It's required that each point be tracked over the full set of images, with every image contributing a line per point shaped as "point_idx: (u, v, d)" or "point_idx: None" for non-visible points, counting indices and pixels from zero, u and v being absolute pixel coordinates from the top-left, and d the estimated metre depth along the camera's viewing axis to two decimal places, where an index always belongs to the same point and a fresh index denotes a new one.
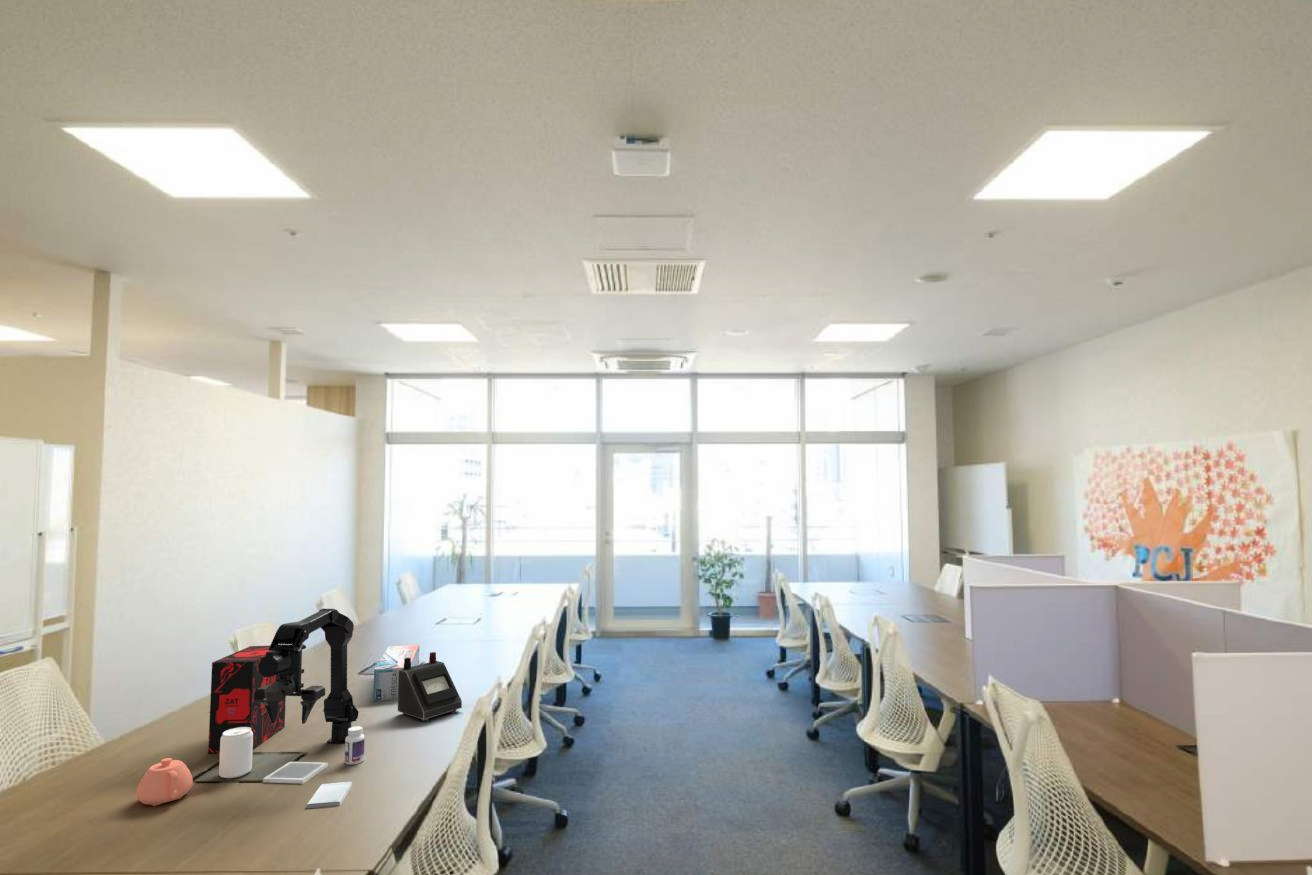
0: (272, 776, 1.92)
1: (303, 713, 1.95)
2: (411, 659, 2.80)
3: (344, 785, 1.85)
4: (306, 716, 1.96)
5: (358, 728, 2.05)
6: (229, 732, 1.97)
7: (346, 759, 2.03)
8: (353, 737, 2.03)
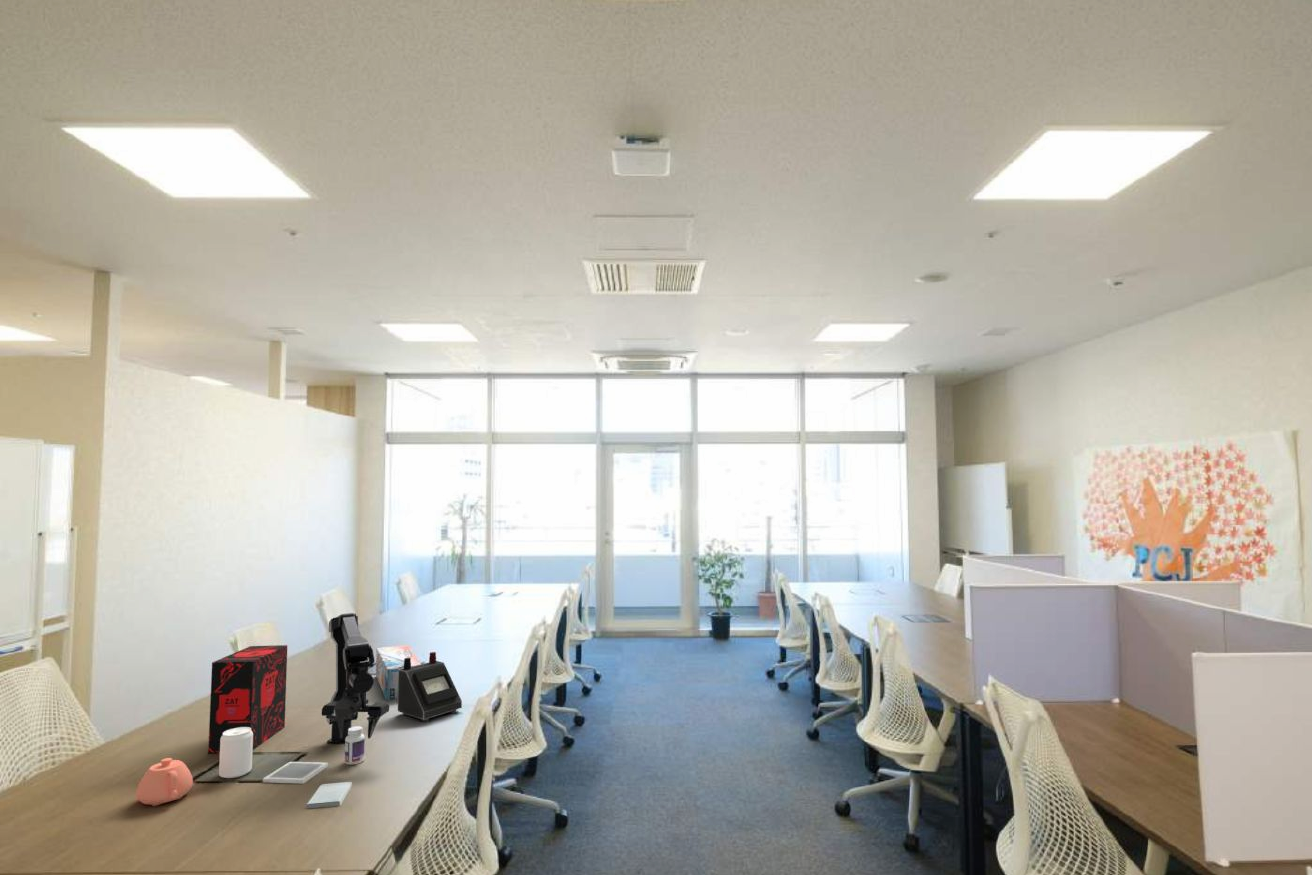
0: (272, 776, 1.92)
1: (369, 728, 2.04)
2: (416, 658, 2.82)
3: (344, 785, 1.85)
4: (372, 731, 2.05)
5: (358, 728, 2.05)
6: (229, 732, 1.97)
7: (346, 759, 2.03)
8: (353, 737, 2.03)
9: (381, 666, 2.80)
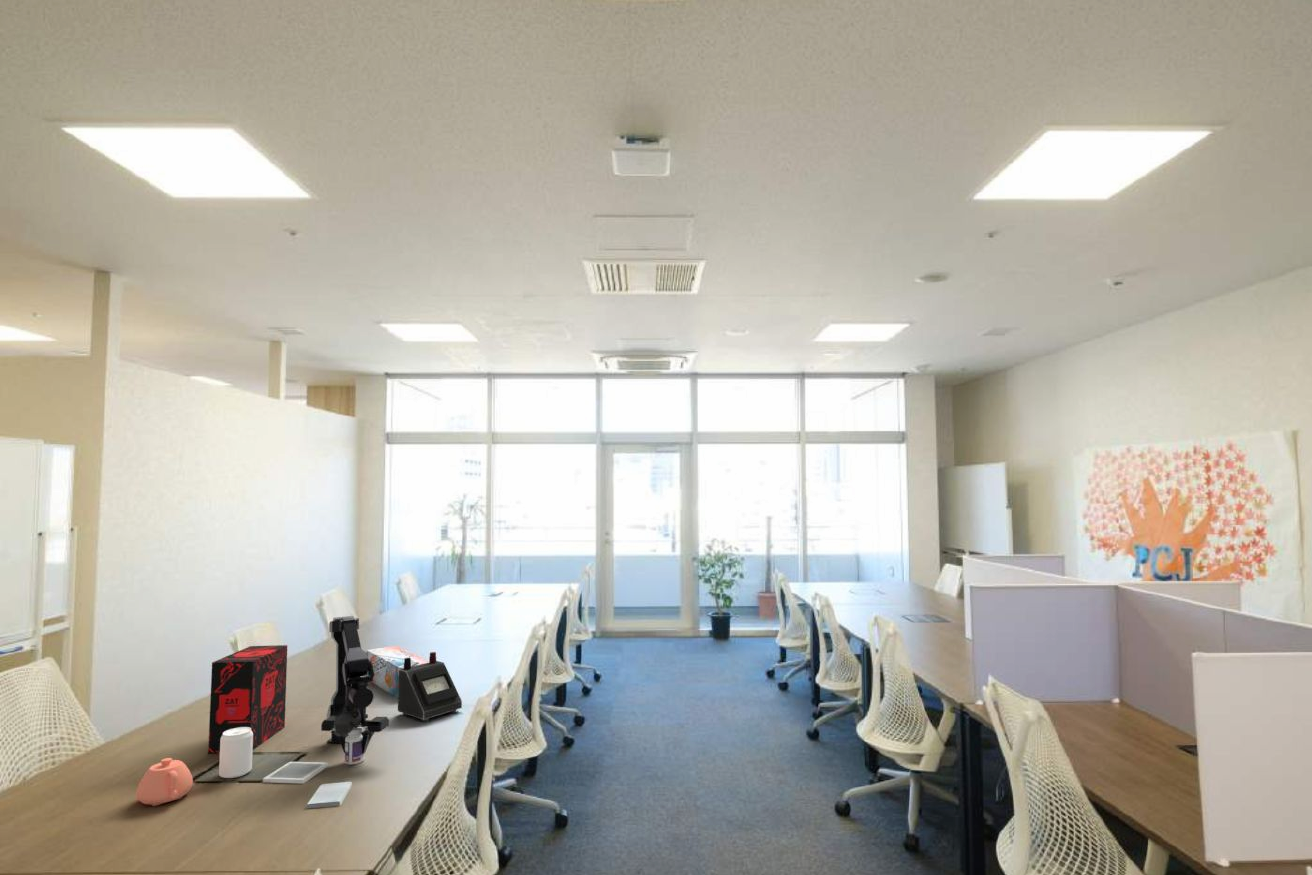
0: (272, 776, 1.92)
1: (363, 743, 2.04)
2: None
3: (344, 785, 1.85)
4: (366, 746, 2.05)
5: (358, 728, 2.05)
6: (229, 732, 1.97)
7: (346, 759, 2.03)
8: (353, 737, 2.03)
9: (384, 667, 2.79)
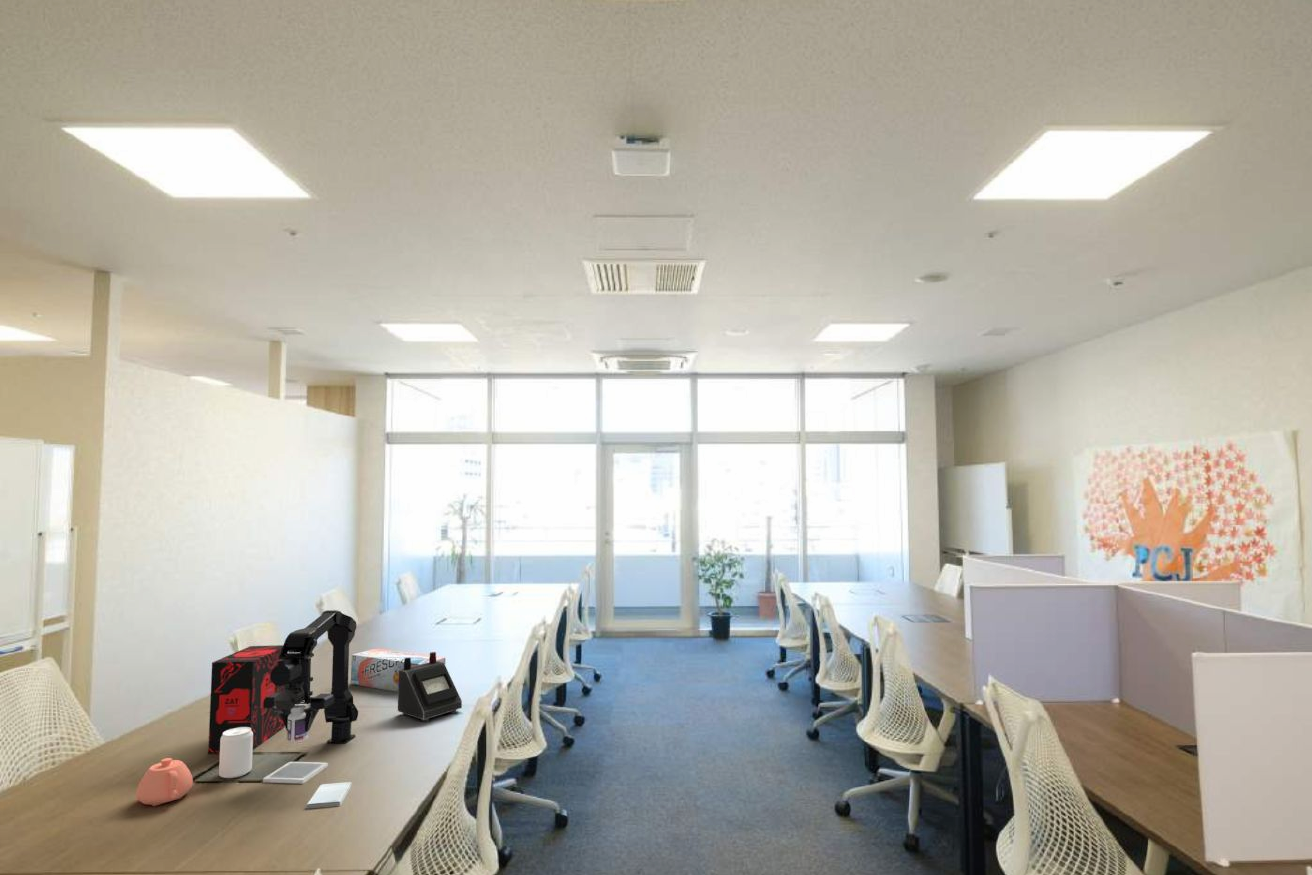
0: (272, 776, 1.92)
1: (307, 721, 1.96)
2: (422, 654, 2.88)
3: (343, 786, 1.85)
4: (310, 724, 1.97)
5: (301, 705, 1.97)
6: (229, 732, 1.97)
7: (288, 737, 1.94)
8: (296, 714, 1.95)
9: (390, 667, 2.79)
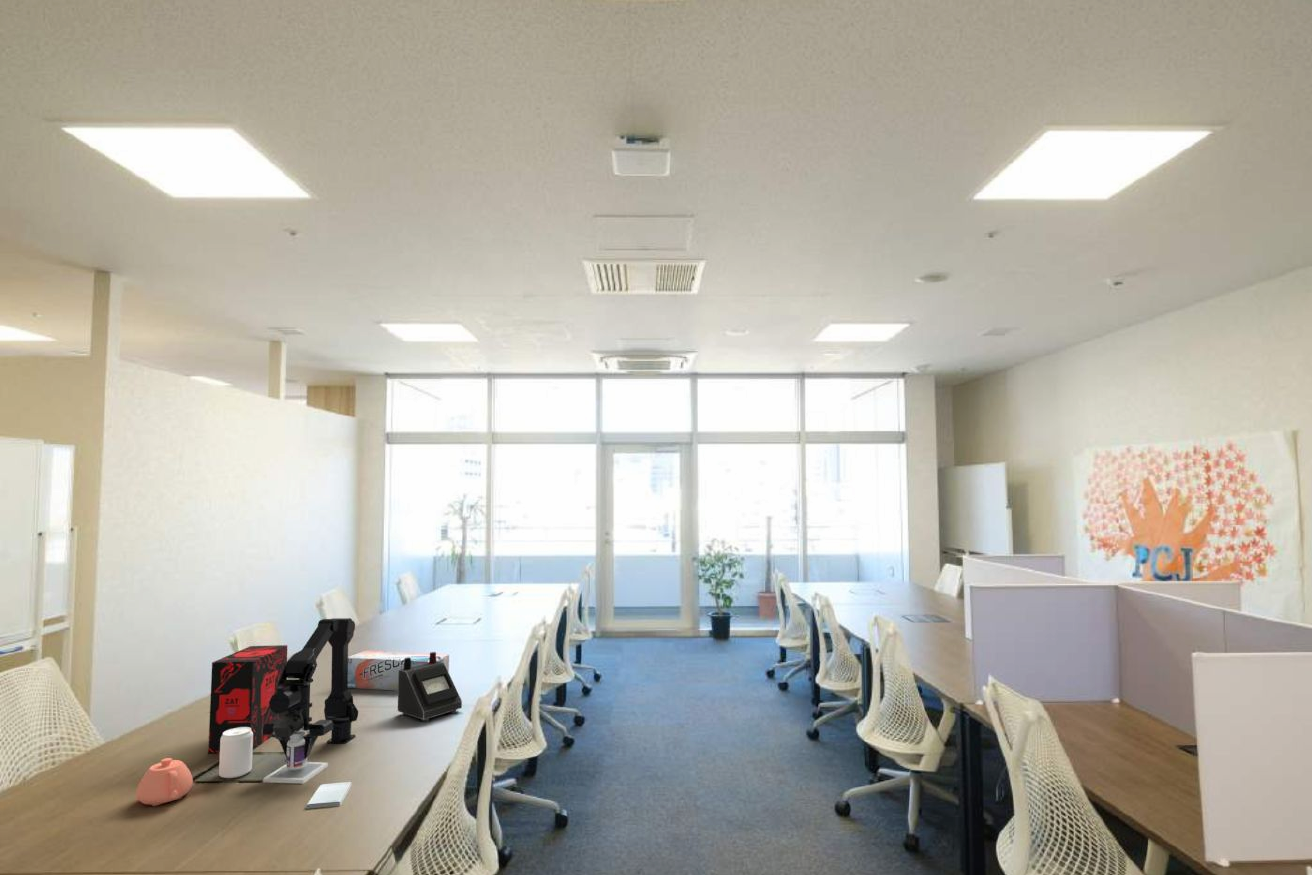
0: (272, 776, 1.92)
1: (306, 747, 1.95)
2: (422, 653, 2.91)
3: (343, 786, 1.85)
4: (309, 750, 1.96)
5: (301, 732, 1.97)
6: (229, 732, 1.97)
7: (287, 764, 1.94)
8: (295, 741, 1.95)
9: (395, 667, 2.79)
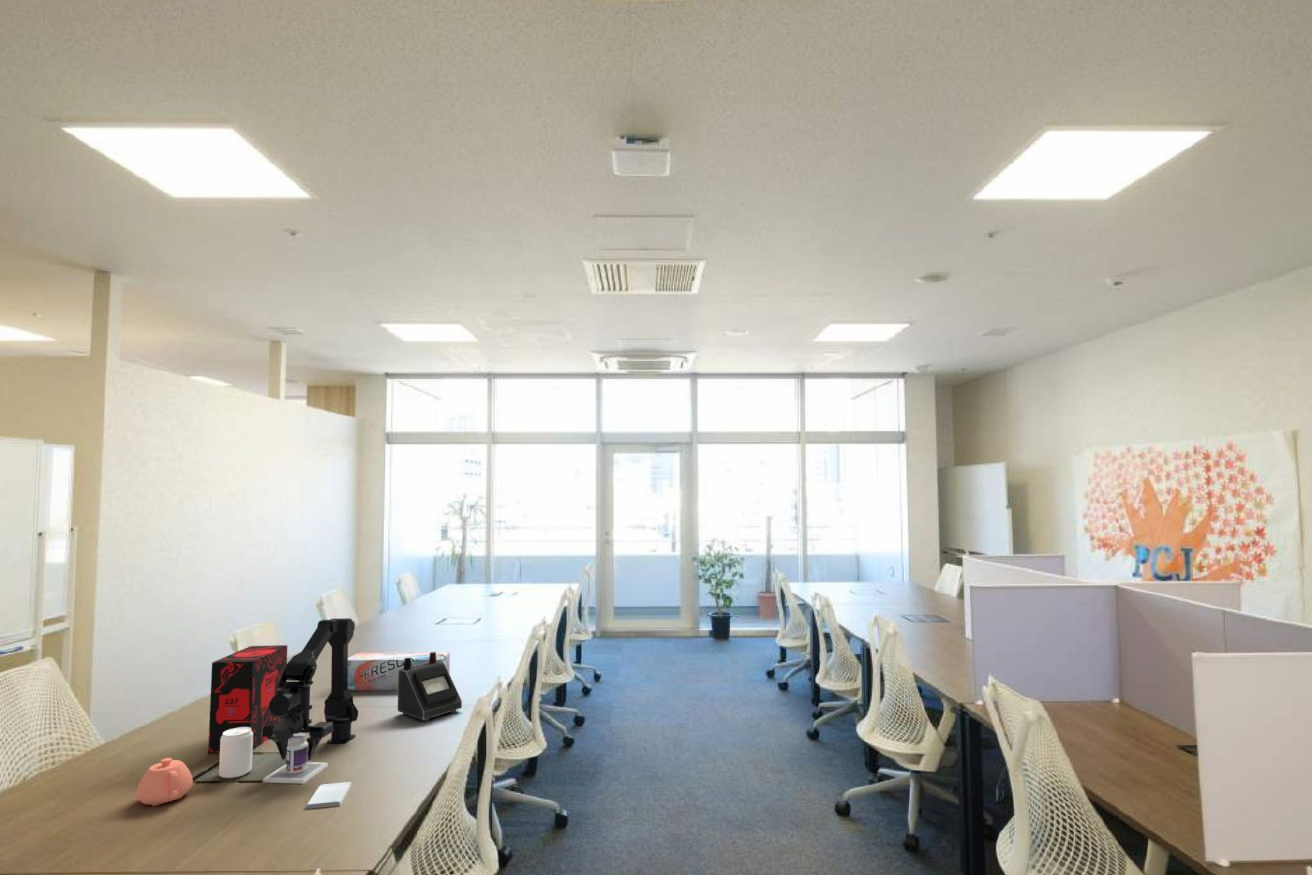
0: (272, 776, 1.92)
1: (309, 750, 1.95)
2: (420, 652, 2.92)
3: (343, 786, 1.85)
4: (313, 753, 1.96)
5: (301, 735, 1.97)
6: (229, 732, 1.97)
7: (287, 768, 1.94)
8: (295, 745, 1.95)
9: (399, 666, 2.79)
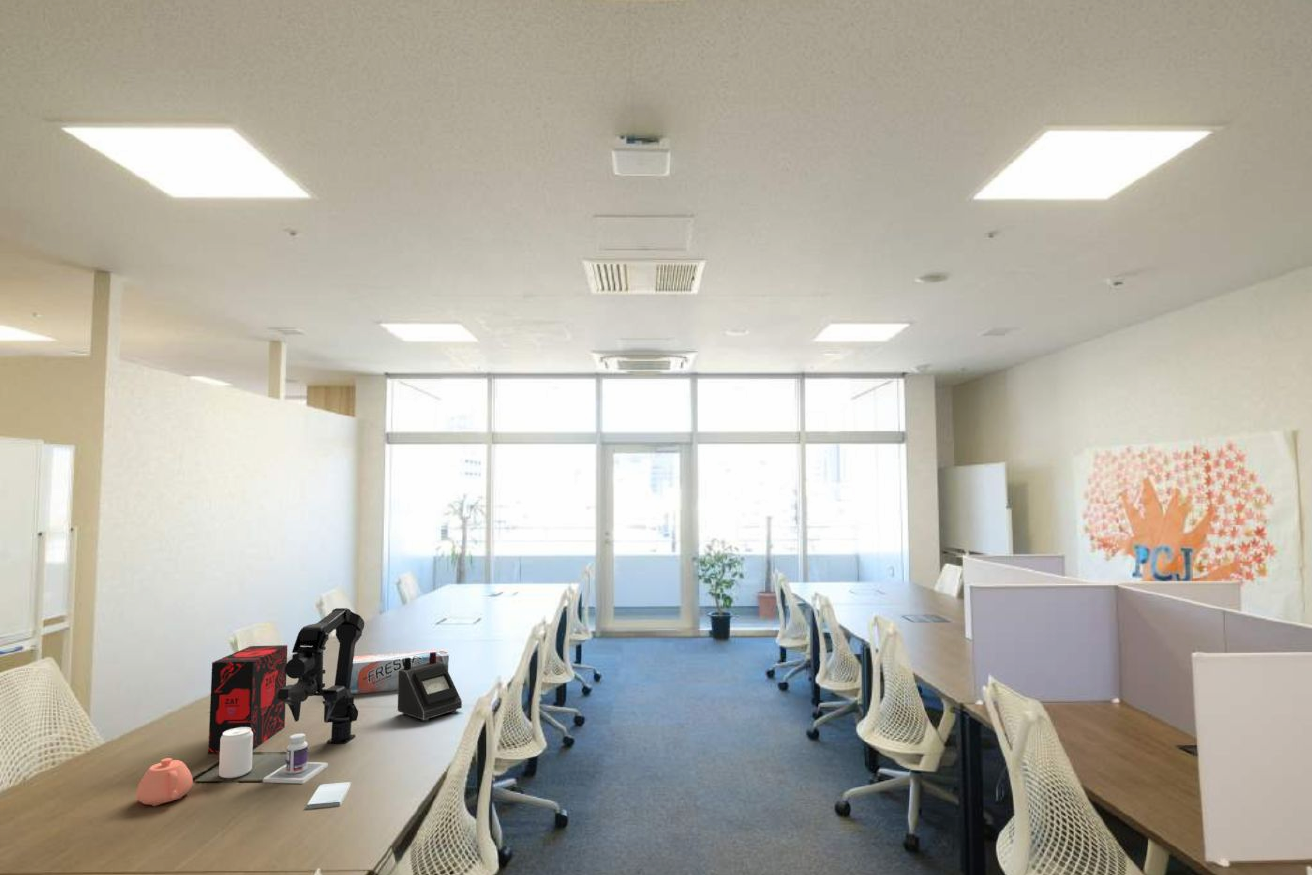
0: (272, 776, 1.92)
1: (325, 712, 2.02)
2: (416, 651, 2.95)
3: (343, 786, 1.85)
4: (328, 715, 2.03)
5: (301, 735, 1.97)
6: (229, 732, 1.97)
7: (287, 768, 1.94)
8: (295, 745, 1.95)
9: None
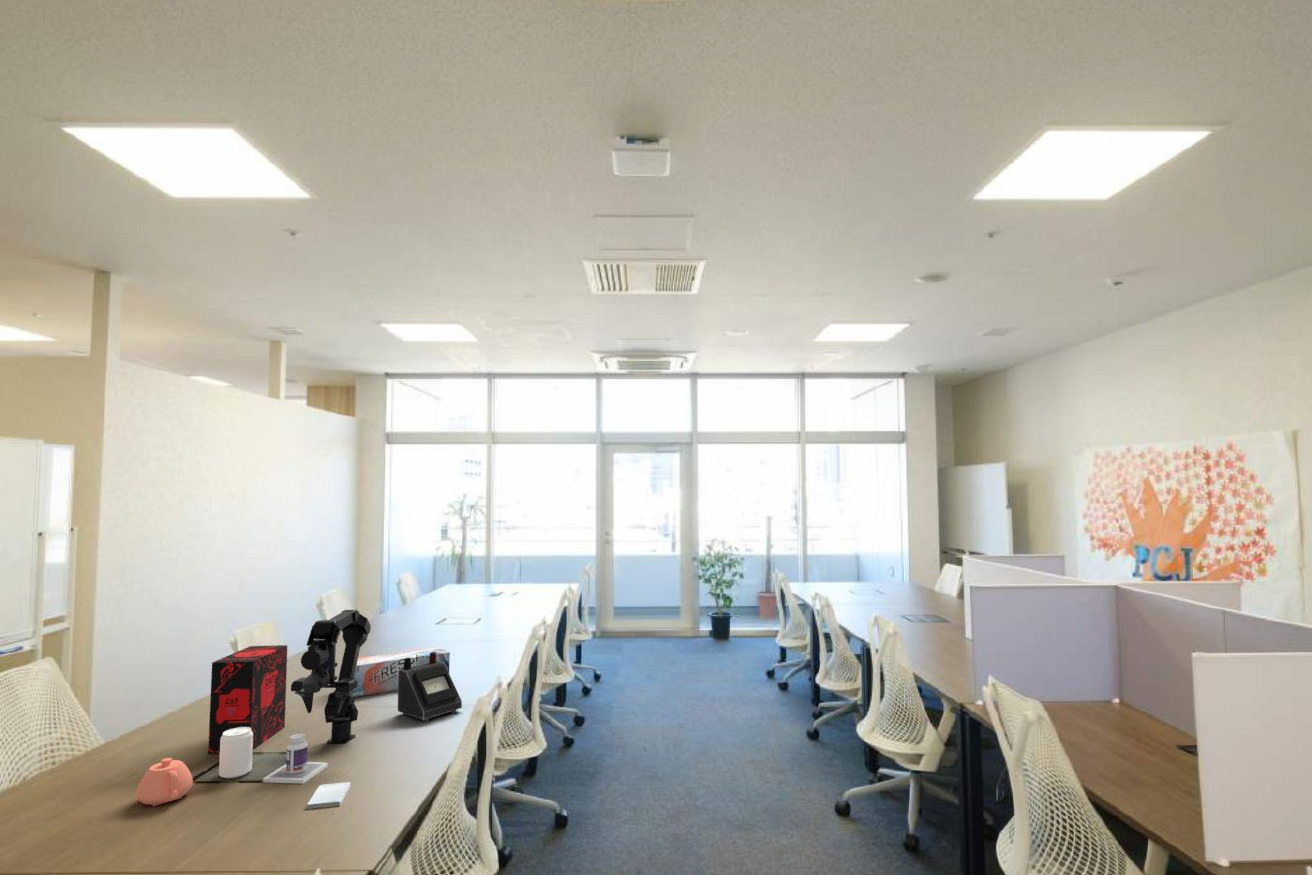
0: (272, 776, 1.92)
1: (337, 704, 2.08)
2: None
3: (343, 786, 1.85)
4: (340, 707, 2.10)
5: (301, 735, 1.97)
6: (229, 732, 1.97)
7: (287, 768, 1.94)
8: (295, 745, 1.95)
9: None
